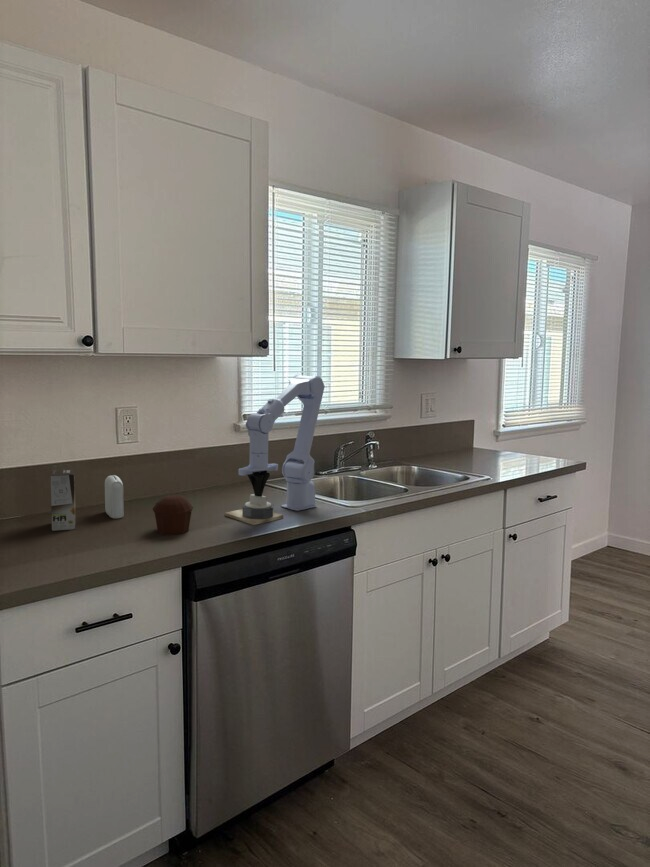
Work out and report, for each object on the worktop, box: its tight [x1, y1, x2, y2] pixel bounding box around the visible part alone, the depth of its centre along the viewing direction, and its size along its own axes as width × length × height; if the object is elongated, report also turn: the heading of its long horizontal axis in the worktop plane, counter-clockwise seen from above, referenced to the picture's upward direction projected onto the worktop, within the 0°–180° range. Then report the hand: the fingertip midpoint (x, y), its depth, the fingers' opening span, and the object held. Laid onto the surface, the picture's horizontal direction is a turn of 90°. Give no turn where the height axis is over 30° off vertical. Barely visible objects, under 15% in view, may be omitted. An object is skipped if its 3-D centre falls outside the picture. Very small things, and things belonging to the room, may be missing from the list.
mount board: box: [224, 508, 284, 526], centre depth 206 cm, size 12×14×1 cm
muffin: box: [152, 494, 194, 536], centre depth 189 cm, size 12×11×10 cm
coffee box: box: [49, 468, 76, 532], centre depth 190 cm, size 9×6×16 cm
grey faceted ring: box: [242, 503, 274, 519], centre depth 205 cm, size 9×9×3 cm
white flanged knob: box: [244, 493, 272, 509], centre depth 204 cm, size 8×8×5 cm
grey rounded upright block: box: [104, 474, 125, 519], centre depth 204 cm, size 10×4×12 cm, turn 29°
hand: (258, 495), depth 204 cm, fingers closed
